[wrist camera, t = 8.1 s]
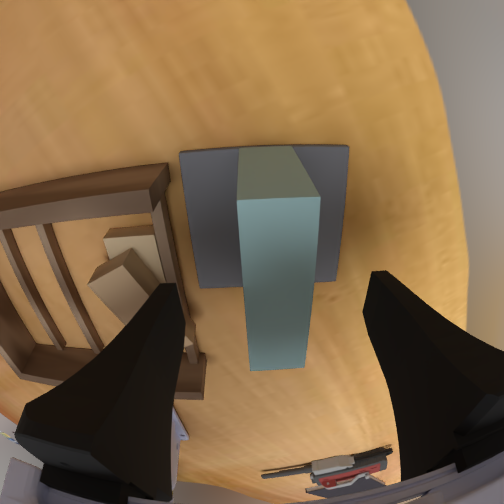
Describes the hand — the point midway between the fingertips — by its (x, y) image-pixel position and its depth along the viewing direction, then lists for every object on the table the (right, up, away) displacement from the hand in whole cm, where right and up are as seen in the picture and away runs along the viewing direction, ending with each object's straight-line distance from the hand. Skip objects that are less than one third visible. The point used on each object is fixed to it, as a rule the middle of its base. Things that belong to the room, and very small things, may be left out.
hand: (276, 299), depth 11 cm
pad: (0, +3, +5) cm, 6 cm away
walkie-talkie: (+11, -31, +29) cm, 44 cm away
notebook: (+21, -49, +41) cm, 68 cm away
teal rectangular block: (0, +3, +5) cm, 6 cm away
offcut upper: (-7, -1, +6) cm, 10 cm away
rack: (-13, -1, +7) cm, 15 cm away
